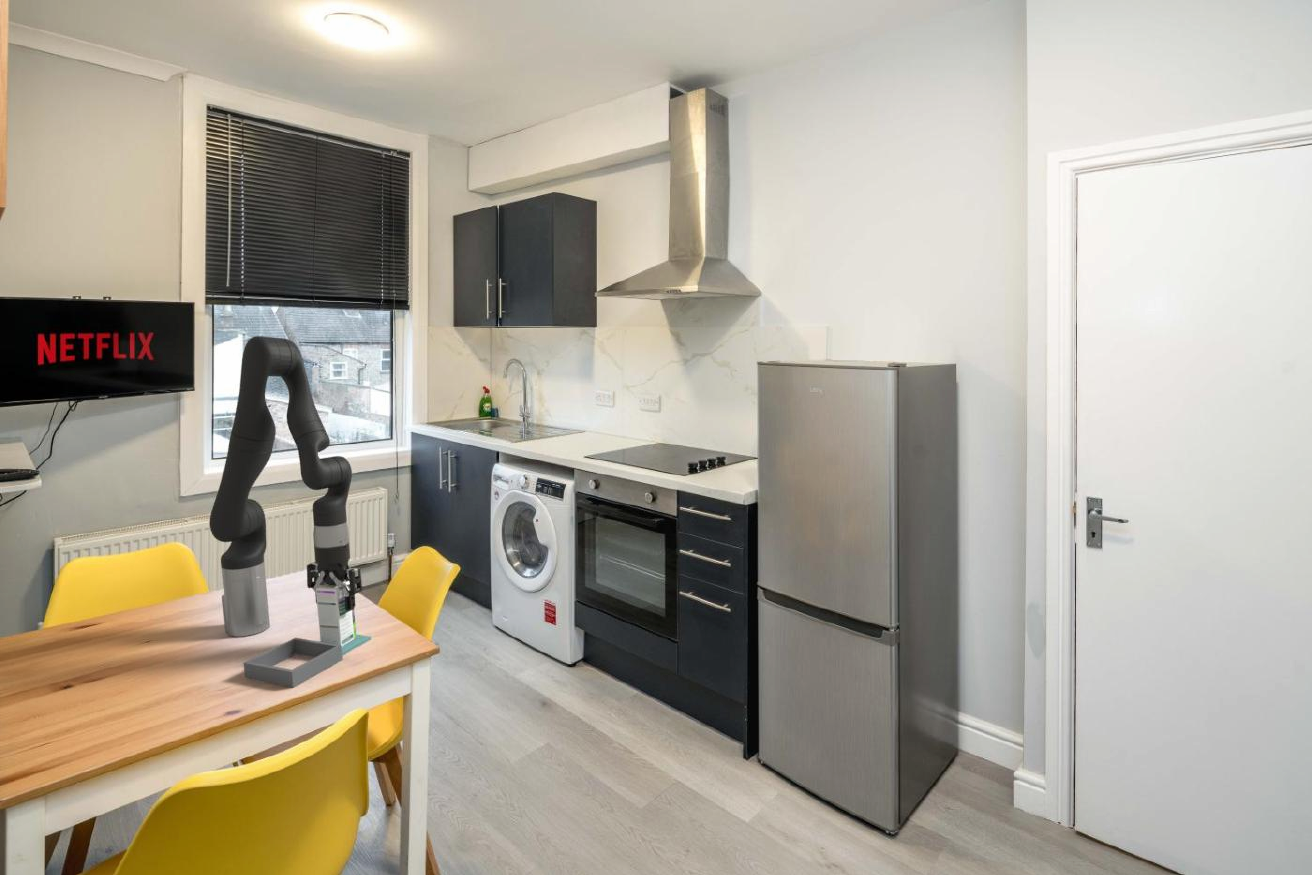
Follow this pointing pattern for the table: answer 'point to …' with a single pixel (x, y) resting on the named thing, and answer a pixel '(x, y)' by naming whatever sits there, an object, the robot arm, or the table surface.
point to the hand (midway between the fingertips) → (335, 607)
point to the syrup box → (334, 616)
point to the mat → (355, 643)
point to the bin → (324, 658)
